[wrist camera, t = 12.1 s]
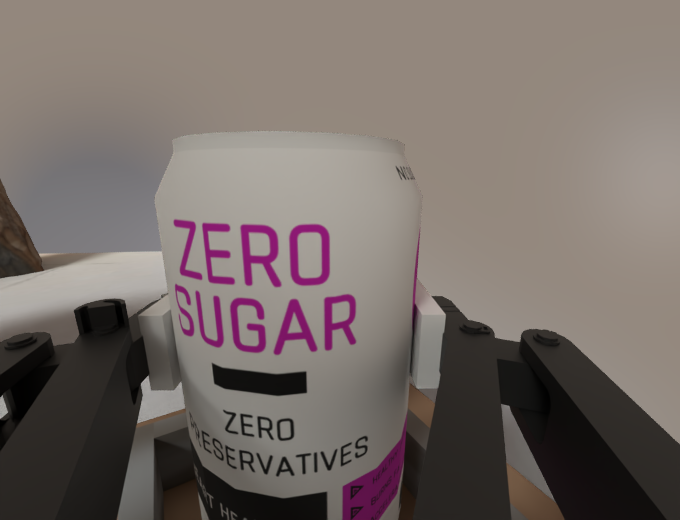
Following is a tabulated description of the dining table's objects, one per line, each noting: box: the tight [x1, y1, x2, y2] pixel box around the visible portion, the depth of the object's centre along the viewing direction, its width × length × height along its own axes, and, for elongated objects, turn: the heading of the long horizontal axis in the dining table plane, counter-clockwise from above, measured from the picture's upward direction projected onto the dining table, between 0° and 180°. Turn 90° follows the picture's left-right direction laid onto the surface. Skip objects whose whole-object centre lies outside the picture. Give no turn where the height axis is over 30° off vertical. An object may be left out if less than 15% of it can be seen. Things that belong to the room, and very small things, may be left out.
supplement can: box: [154, 131, 422, 520], centre depth 12 cm, size 8×8×15 cm
